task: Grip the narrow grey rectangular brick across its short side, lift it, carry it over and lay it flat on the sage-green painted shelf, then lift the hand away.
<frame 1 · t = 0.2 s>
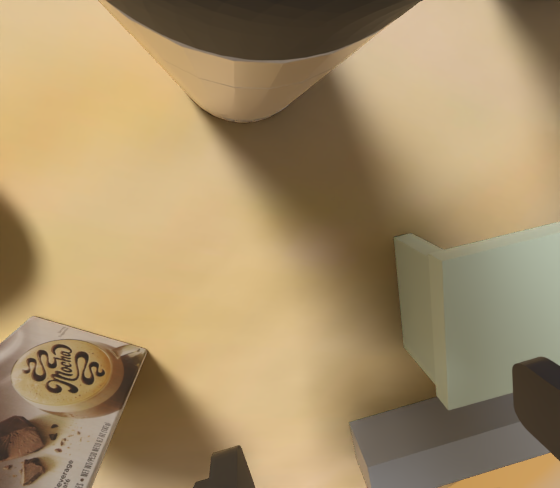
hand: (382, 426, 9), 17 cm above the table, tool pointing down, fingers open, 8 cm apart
grey rectangular brick: (434, 414, 33), on the table
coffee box: (83, 361, 26), on the table
sage shelf: (511, 267, 29), on the table
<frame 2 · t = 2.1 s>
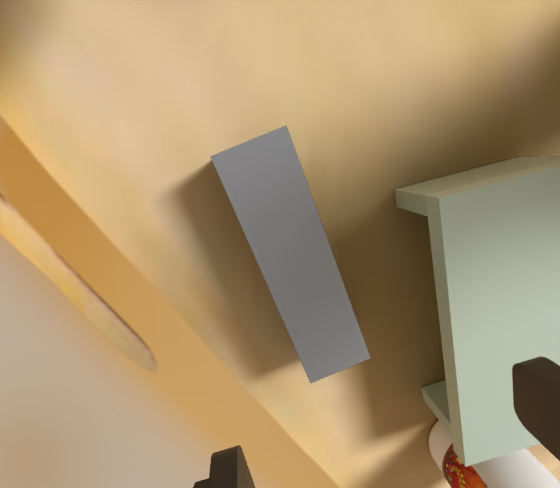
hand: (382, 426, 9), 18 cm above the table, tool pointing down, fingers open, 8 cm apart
grey rectangular brick: (289, 249, 27), on the table
sage shelf: (466, 289, 29), on the table
milk bottle: (459, 431, 34), on the table
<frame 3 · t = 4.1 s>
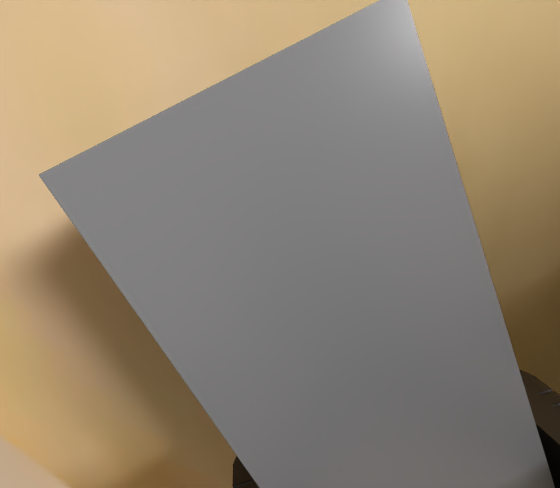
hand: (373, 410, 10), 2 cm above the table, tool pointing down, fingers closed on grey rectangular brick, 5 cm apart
grey rectangular brick: (353, 371, 11), on the table, touching gripper
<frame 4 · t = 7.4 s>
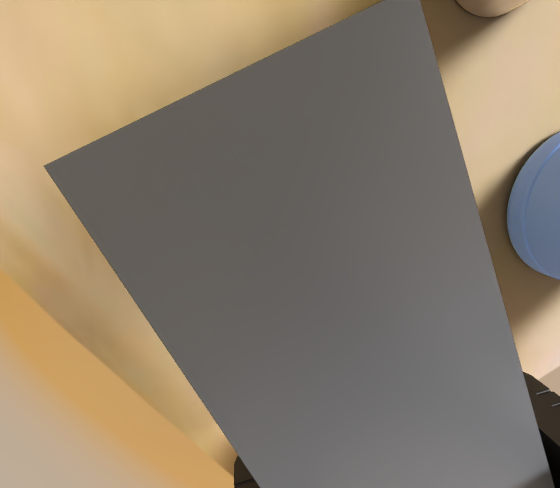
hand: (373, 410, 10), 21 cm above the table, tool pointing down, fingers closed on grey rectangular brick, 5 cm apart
grey rectangular brick: (353, 371, 11), point 19 cm above the table, touching gripper
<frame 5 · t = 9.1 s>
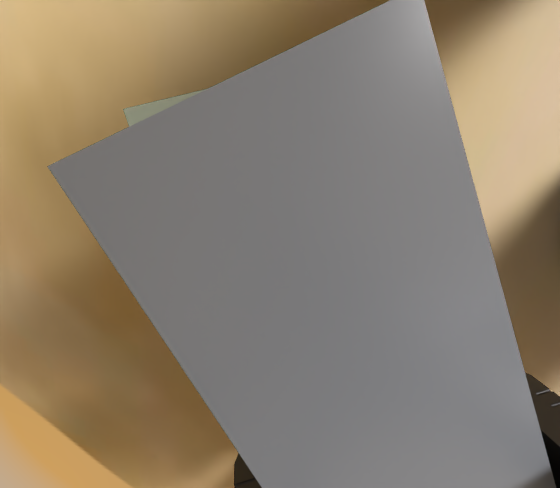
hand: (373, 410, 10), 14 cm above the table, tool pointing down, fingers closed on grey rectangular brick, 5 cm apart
grey rectangular brick: (354, 372, 11), point 12 cm above the table, touching gripper
sage shelf: (298, 265, 23), on the table
when the fingers open (10 cm above the table, at t = 10.7 s): grey rectangular brick drops 1 cm, resting on sage shelf.
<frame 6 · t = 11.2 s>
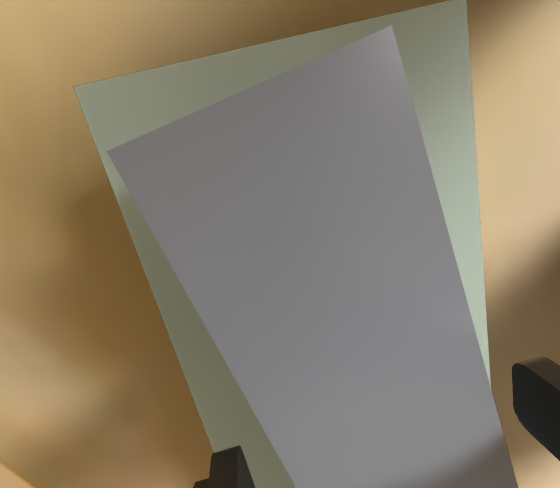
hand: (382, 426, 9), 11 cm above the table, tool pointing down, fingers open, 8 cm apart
grey rectangular brick: (342, 350, 12), point 7 cm above the table, touching sage shelf
sage shelf: (306, 285, 19), on the table
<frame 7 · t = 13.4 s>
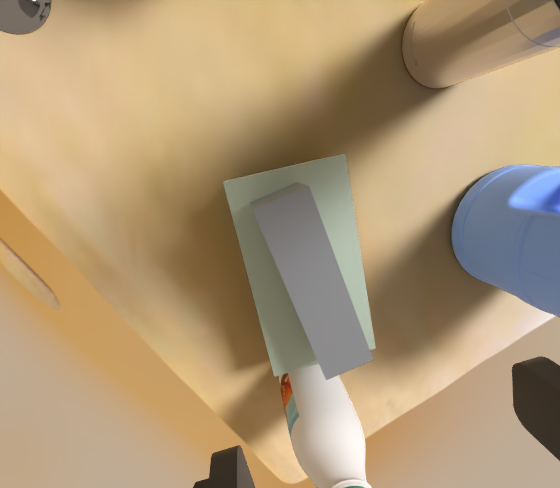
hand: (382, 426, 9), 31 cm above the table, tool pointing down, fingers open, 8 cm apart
grey rectangular brick: (306, 272, 33), point 7 cm above the table, touching sage shelf
water jug: (501, 224, 43), on the table
sage shelf: (295, 254, 40), on the table
milk bottle: (305, 368, 45), on the table
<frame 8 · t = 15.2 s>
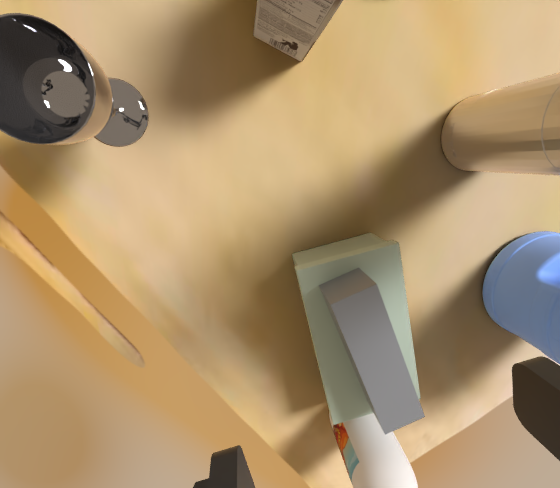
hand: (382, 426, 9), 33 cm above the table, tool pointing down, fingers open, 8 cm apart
grey rectangular brick: (363, 339, 39), point 7 cm above the table, touching sage shelf
wine glass: (115, 113, 36), on the table
water jug: (526, 280, 48), on the table
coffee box: (293, 10, 35), on the table
sage shelf: (345, 313, 46), on the table
milk bottle: (351, 408, 50), on the table
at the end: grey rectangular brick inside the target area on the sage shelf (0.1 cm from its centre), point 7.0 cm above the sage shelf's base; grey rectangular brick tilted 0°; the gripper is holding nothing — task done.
